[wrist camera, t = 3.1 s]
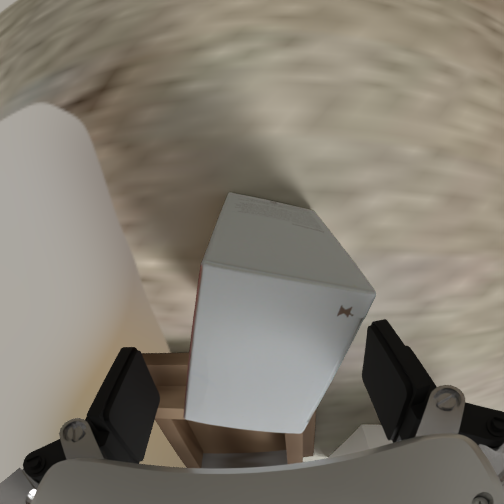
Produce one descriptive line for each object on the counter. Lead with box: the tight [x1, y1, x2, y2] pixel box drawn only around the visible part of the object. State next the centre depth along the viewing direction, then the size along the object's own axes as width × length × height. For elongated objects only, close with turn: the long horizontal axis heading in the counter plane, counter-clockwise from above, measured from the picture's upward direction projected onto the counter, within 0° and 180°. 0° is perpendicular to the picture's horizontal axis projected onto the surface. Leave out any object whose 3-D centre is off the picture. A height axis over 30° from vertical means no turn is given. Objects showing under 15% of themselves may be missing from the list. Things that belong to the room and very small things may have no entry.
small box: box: [183, 192, 376, 434], centre depth 14 cm, size 8×6×10 cm
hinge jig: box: [142, 352, 316, 469], centre depth 19 cm, size 15×17×14 cm
